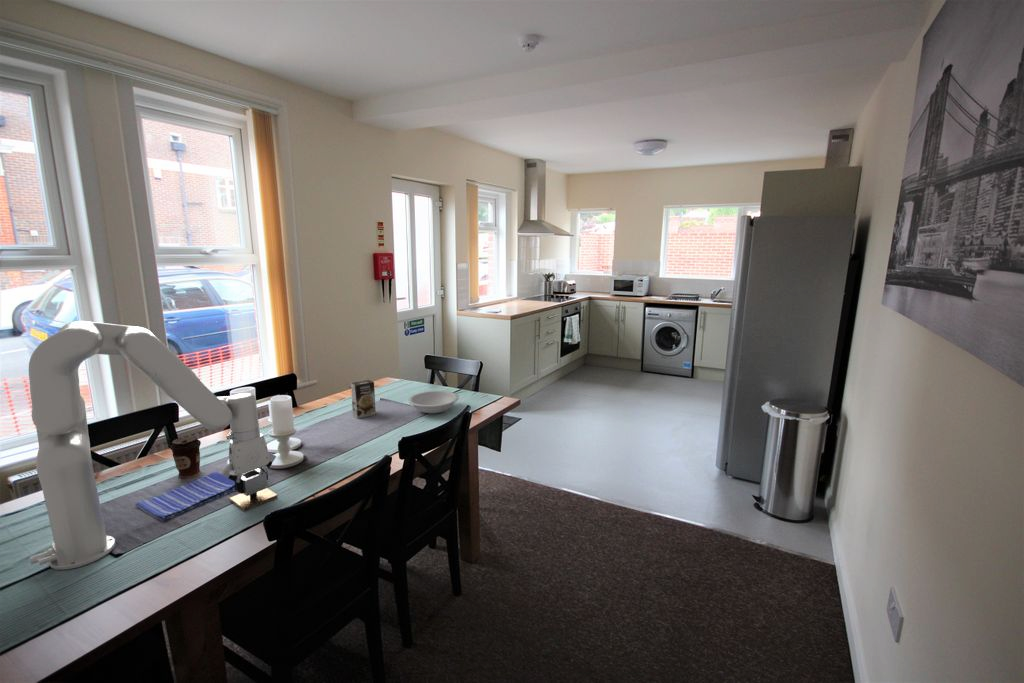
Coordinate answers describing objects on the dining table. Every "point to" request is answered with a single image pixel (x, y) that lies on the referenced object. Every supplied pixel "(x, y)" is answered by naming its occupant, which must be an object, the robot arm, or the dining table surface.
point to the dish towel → (187, 496)
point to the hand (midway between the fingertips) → (252, 487)
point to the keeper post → (253, 499)
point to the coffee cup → (186, 456)
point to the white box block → (254, 481)
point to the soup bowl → (433, 401)
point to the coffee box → (363, 399)
